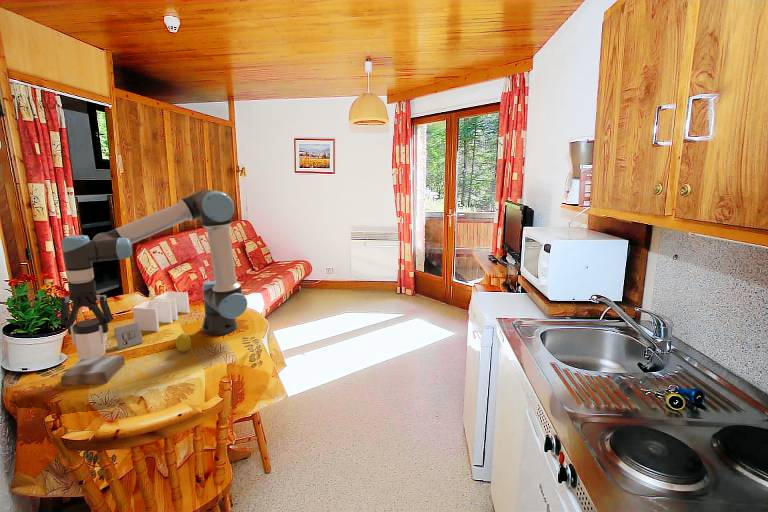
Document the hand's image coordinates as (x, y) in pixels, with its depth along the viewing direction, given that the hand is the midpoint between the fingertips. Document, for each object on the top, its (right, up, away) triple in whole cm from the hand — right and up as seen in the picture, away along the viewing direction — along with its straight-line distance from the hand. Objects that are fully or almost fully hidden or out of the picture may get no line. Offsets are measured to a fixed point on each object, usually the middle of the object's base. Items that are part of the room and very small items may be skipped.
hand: (90, 341), depth 145 cm
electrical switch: (-3, -7, +27) cm, 28 cm away
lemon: (+23, -9, +22) cm, 33 cm away
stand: (0, -12, +3) cm, 13 cm away
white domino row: (-3, -2, +54) cm, 54 cm away
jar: (0, -5, +1) cm, 5 cm away
